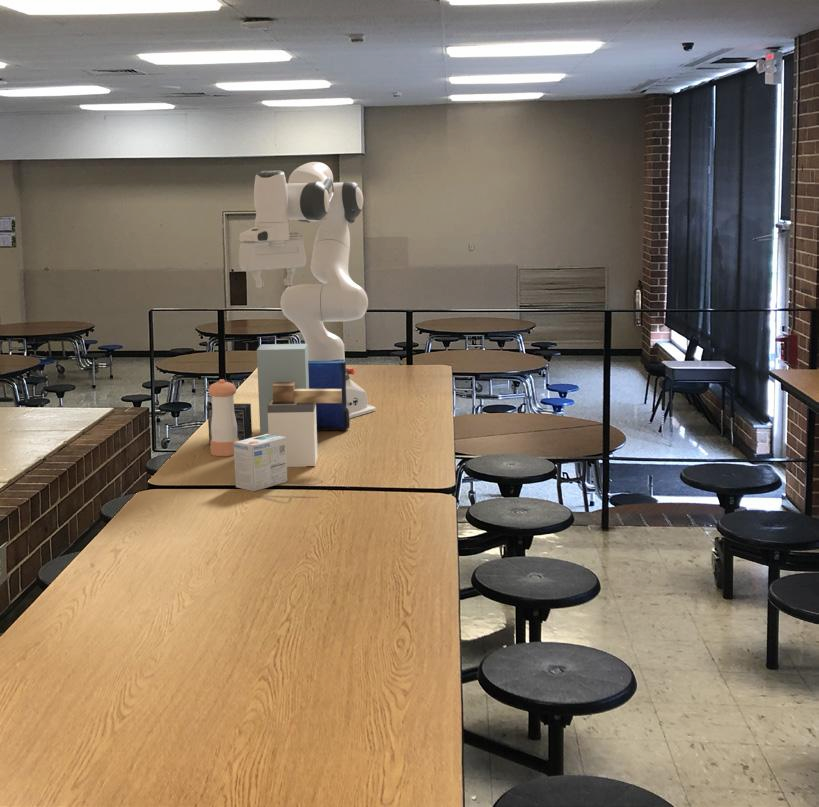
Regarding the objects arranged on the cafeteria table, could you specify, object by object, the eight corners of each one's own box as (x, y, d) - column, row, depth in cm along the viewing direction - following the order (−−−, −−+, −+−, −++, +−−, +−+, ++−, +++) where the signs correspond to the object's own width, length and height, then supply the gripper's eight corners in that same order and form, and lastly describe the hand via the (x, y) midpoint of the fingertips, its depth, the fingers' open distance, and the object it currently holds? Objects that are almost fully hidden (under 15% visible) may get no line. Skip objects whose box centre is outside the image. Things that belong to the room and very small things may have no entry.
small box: (253, 440, 300) (251, 402, 298) (247, 446, 294) (245, 407, 292) (215, 440, 301) (213, 402, 300) (208, 446, 295) (206, 407, 293)
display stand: (312, 445, 294) (308, 343, 289) (309, 454, 283) (306, 349, 278) (264, 446, 293) (259, 344, 288) (259, 455, 283) (255, 350, 278)
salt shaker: (205, 454, 285) (201, 380, 282) (222, 448, 291) (219, 376, 288) (228, 457, 282) (224, 382, 278) (245, 451, 288) (242, 378, 285)
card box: (317, 456, 281) (315, 397, 278) (315, 466, 271) (313, 405, 268) (273, 457, 280) (271, 398, 278) (269, 467, 271) (267, 406, 268)
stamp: (272, 403, 270) (272, 385, 269) (274, 400, 275) (274, 382, 274) (341, 403, 271) (341, 385, 270) (341, 400, 276) (341, 382, 275)
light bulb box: (268, 477, 261) (266, 432, 259) (288, 482, 257) (287, 436, 255) (234, 487, 253) (231, 441, 251) (254, 492, 249) (252, 445, 247)
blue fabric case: (350, 428, 314) (349, 357, 310) (348, 432, 309) (346, 360, 305) (300, 428, 315) (298, 358, 312) (296, 432, 310) (294, 360, 307)
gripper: (294, 231, 301) (296, 283, 304) (234, 234, 287) (236, 288, 289) (310, 232, 297) (312, 284, 300) (249, 235, 283) (251, 289, 285)
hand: (274, 286), depth 294 cm, fingers open, 8 cm apart
